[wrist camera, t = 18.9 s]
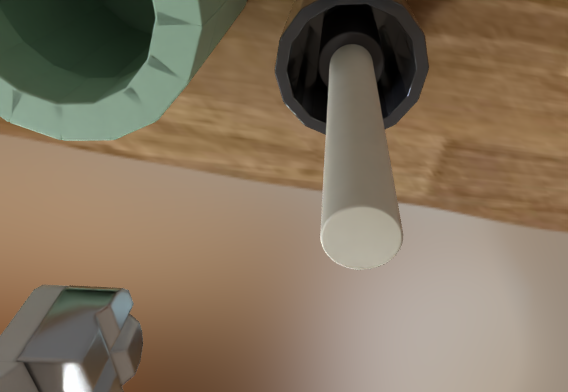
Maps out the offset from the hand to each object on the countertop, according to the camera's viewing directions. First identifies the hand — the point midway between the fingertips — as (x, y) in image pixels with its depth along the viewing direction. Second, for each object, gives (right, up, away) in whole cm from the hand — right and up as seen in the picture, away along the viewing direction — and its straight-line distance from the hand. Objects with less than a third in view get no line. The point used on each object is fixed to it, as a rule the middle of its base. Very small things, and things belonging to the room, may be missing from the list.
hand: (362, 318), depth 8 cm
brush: (+2, +10, +17) cm, 20 cm away
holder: (+2, +11, +17) cm, 21 cm away
